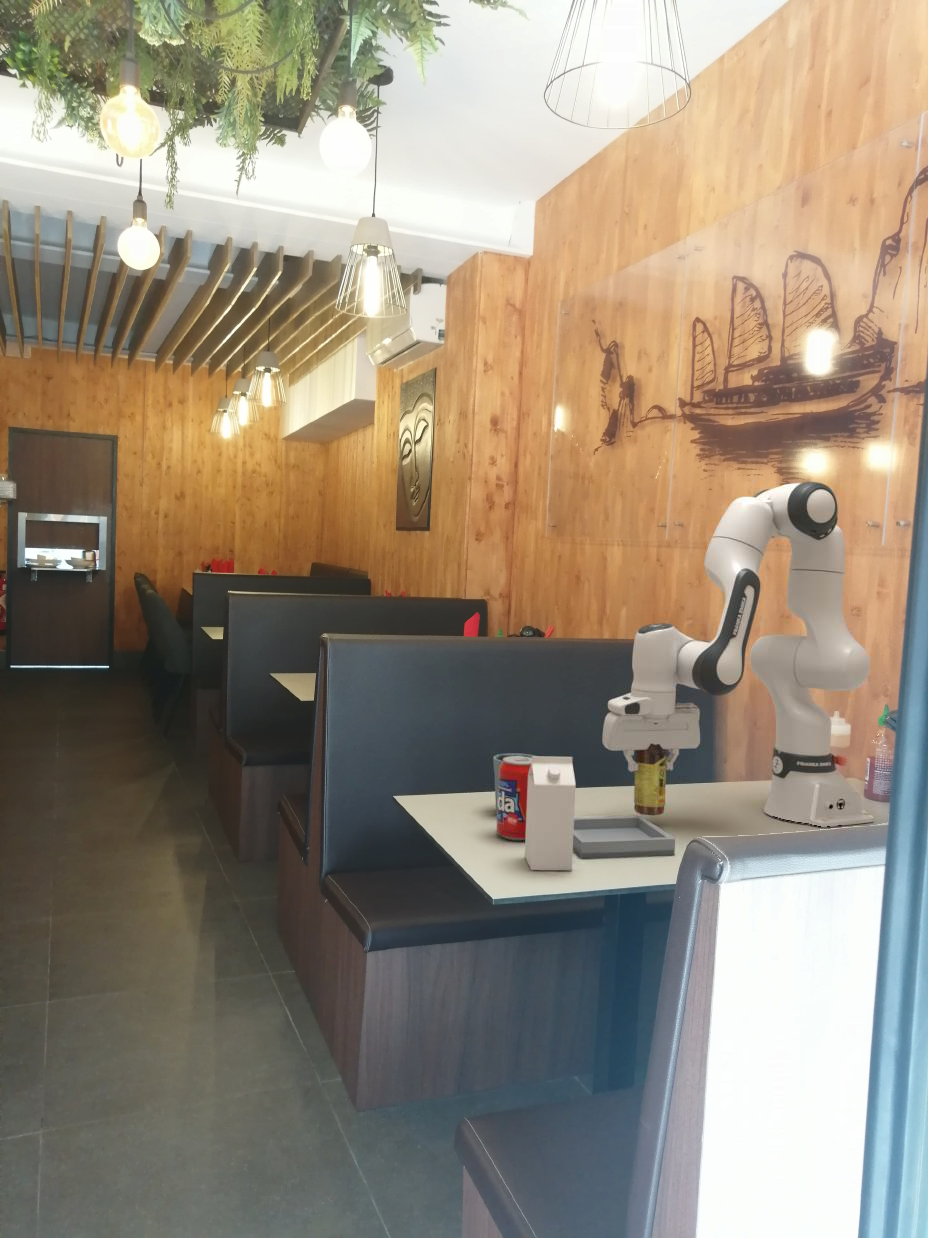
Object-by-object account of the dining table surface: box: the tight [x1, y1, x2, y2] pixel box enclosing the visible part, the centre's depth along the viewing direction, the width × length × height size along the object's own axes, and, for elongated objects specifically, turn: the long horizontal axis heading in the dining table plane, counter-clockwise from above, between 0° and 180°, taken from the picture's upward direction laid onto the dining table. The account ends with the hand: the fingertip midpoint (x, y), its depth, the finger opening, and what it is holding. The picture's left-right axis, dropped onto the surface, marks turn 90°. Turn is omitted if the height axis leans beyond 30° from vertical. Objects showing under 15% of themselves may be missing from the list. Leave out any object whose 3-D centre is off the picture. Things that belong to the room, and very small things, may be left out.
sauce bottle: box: [633, 723, 667, 816], centre depth 181 cm, size 6×6×20 cm
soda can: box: [496, 756, 532, 842], centre depth 170 cm, size 8×8×15 cm
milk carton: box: [524, 755, 577, 871], centre depth 154 cm, size 7×7×19 cm
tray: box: [573, 815, 676, 860], centre depth 168 cm, size 18×15×3 cm
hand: (650, 770), depth 181 cm, fingers closed on sauce bottle, 6 cm apart
